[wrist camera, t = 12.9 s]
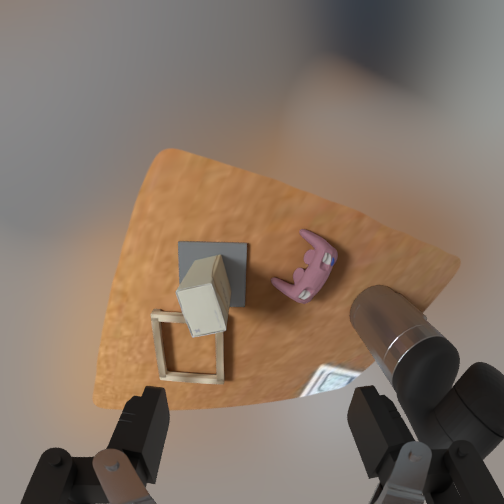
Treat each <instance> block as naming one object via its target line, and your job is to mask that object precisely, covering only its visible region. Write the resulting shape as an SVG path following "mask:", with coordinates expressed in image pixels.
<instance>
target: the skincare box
mask: <svg viewBox="0 0 504 504" xmlns="http://www.w3.org/2000/svg"><path fill="white" fill-rule="evenodd" d="M176 295H177V298H178V301H179V304H180V307H181V310H182V313H183V315H184V318H185V320H186V323H187V325H188V328H189V330H190V333H191V335H192V337H198V336H204V335H209V334H214V333H218V332H222V331H226V327H227V319H228V312H229V305H230V298H231V288H230V284H229V280H228V277H227V273H226V269H225V266H224V263H223V259H222V256H221V255H216V256H211V257H207V258H203V259H199V260H195V261H194V263H193V264H192V266H191V267H190V269H189V271H188V272H187V274H186V276H185V277H184V279H183V280H182V282H181V284H180V285H179V287H178V289H177V290H176Z"/></svg>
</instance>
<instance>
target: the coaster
mask: <svg viewBox="0 0 504 504" xmlns="http://www.w3.org/2000/svg"><path fill="white" fill-rule="evenodd" d="M216 255H221V256H222V259H223V263H224V266H225V269H226V273H227V277H228V280H229V284H230V288H231V298H230V305H229V307H245V289H246V258H247V243H239V242H200V241H179V242H178V256H179V282H180V284H181V282H182V280H183V279H184V277H185V276H186V274H187V272H188V271H189V269H190V267H191V266H192V264H193V263H194V261H195V260H199V259H203V258H207V257H211V256H216Z"/></svg>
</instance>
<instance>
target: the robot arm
mask: <svg viewBox="0 0 504 504" xmlns="http://www.w3.org/2000/svg"><path fill="white" fill-rule="evenodd" d="M426 320H427V317H426V316H425V315H424V314H423V313H422V312H421V311H420V310H418V309H417V308H416V307H415V306H414V305H413V304H412V303H410V302H409V301H408V300H407V299H406V298H405V297H403V296H402V295H401V294H400V293H395V292H394V291H393V290H391V289H390V288H388V287H387V286H383V285H376V286H372V287H370V288H367V289H366V290H364V291H363V292H361V293H360V294H359V295H358V296H357V298H356V299H355V300H354V302H353V304H352V307H351V310H350V321H351V323H352V326H353V327H354V329H355V330H356V332H357V333H358V335H359V336H360V338H361V339H362V341H363V342H364V344H365V345H366V347H367V348H368V350H369V351H370V353H371V354H372V356H373V357H374V359H375V360H376V362H377V364H378V365H379V367H380V368H381V369H382V371H383V373H384V374H385V376H386V377H387V379H388V380H389V382H390V384H391V385H392V387H393V388H394V390H395V391H396V393H397V398H398V401H399V403H400V405H401V407H402V409H403V410H404V412H405V414H406V416H407V418H408V420H409V422H410V424H411V426H412V428H413V430H414V432H415V434H416V436H417V438H418V440H419V442H418V441H415V440H414V438H413V436H412V434H411V433H410V431H409V429H408V427H407V426H406V424H405V422H404V420H403V419H402V418H401V415H400V413H399V412H398V411H397V409H396V407H395V405H394V403H393V402H392V401H391V400H390V399H389V398H388V397H386V396H385V395H379V393H378V392H377V390H376V388H375V387H374V386H373V385H371V386H364V387H357V388H356V389H355V391H354V394H353V398H352V401H351V404H350V407H349V410H348V414H347V418H348V424H349V427H350V429H351V432H352V435H353V437H354V440H355V442H356V445H357V448H358V450H359V453H360V456H361V458H362V461H363V463H364V466H365V469H366V471H367V474H368V477H369V479H370V478H375V477H379V480H380V482H379V483H378V485H377V487H376V489H375V491H374V494H373V496H372V498H371V500H370V502H369V504H423V503H424V500H426V503H427V504H504V498H503V496H502V494H501V492H500V490H499V488H498V486H497V485H496V483H495V481H494V479H493V478H492V476H491V474H490V472H489V470H488V469H487V467H486V465H485V464H484V462H483V459H484V458H485V457H486V456H487V455H488V454H490V453H491V452H492V451H493V450H494V449H495V448H496V446H497V445H498V444H499V443H500V442H501V441H502V440H503V439H504V375H503V374H502V373H501V372H500V371H498V370H497V369H496V368H494V367H493V366H491V365H489V364H487V363H483V362H477V363H474V364H473V365H471V366H470V367H469V368H468V369H467V371H466V372H465V373H464V374H463V375H462V376H461V378H460V379H459V380H458V381H457V382H456V383H455V385H454V386H453V387H452V385H453V383H454V381H455V378H456V376H457V373H458V369H459V364H460V358H459V353H458V351H457V349H456V348H455V347H454V346H453V345H452V344H451V343H450V342H449V341H448V340H447V339H446V338H445V337H444V336H443V335H442V334H441V333H440V332H438V330H436V329H435V328H434V327H433V326H432V325H431V324H430V323H429V322H427V321H426ZM169 416H170V414H169V408H168V403H167V398H166V392H165V389H164V388H162V387H153V386H146V387H145V389H144V392H143V394H142V397H140V396H133V397H132V398H131V399H130V400H129V401H128V402H127V403H126V404H125V407H124V409H123V411H122V414H121V416H120V418H119V421H118V423H117V426H116V428H115V430H114V433H113V435H112V437H111V440H110V442H109V445H108V447H107V448H106V449H105V450H102V451H100V452H98V453H97V454H96V455H95V456H94V457H71V456H70V454H69V453H68V452H67V451H66V450H64V449H62V448H50V449H48V450H46V451H45V452H44V453H43V454H42V455H41V457H40V459H39V462H38V464H37V466H36V468H35V471H34V473H33V475H32V477H31V480H30V482H29V484H28V486H27V489H26V492H25V494H24V496H23V499H22V501H21V504H96V503H97V504H102V503H103V504H107V503H108V504H156V502H155V501H154V499H153V498H152V497H151V496H150V494H149V493H148V491H147V490H146V484H147V483H151V484H155V482H156V478H157V473H158V469H159V464H160V460H161V456H162V452H163V447H164V443H165V439H166V435H167V431H168V426H169V420H170V417H169ZM454 484H455V485H454ZM455 486H456V487H455ZM456 488H457V489H456ZM457 490H458V491H457ZM458 492H459V493H458ZM422 493H423V495H422Z"/></svg>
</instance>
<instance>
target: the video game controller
mask: <svg viewBox="0 0 504 504" xmlns="http://www.w3.org/2000/svg"><path fill="white" fill-rule="evenodd" d="M299 232H300V235H301V236H302V237H303V238H304V239H305V240H306V241H307V242H309V243H310V244H311V245H312V246H313V247H314V249H315V250H308V251H307V252H306V253H305V255H304V262H305V263H306V264H308V265H309V266H308V267H307V269H306V270H304V269H303V268H298V269H296V270H295V272H294V274H293V279H294V283H295V284H294V285H293V284H289V283H287V282H285V281H283V280H281V279H278V278H275V277H273V278H271V282H272V284H273V285H274V286H275V287H276V288H277V289H278V290H280V291H281V292H282V293H284V294H285V295H286V296H288V297H290V298H291V299H293V300H295V301H296V302H299V303H303V304H305V303H308V302H310V301H311V300H312V298H313V296H315V295H316V294H317V293H318V292H319V290H320V289H321V288H322V286H323V285H324V284H325V282H326V280H327V278H328V277H329V274H330V272H331V270H332V267H333V265H334V264H335V263H336V261H337V255H338V254H337V251H336V249H335V248H334V247H332V246H331V245H330V244H329V243H328V242H327V241H326V240H324V239H323V238H322V237H320V236H318V235H316V234H314V233H313V232H311V231H308V230H305V229H301V230H300V231H299Z"/></svg>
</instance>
